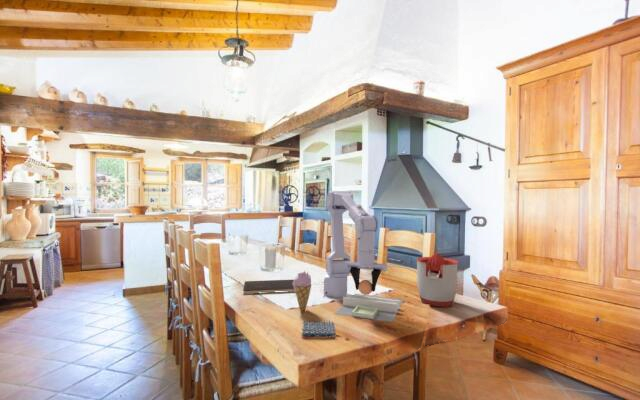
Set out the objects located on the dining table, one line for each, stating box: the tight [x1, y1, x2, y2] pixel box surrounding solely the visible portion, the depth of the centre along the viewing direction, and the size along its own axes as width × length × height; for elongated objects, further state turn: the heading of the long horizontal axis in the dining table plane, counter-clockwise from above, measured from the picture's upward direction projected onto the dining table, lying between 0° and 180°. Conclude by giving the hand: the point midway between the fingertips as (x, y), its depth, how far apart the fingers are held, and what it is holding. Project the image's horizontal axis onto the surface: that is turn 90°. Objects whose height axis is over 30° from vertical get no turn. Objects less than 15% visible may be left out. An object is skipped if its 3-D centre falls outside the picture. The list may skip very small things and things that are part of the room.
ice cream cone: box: [292, 270, 312, 314], centre depth 116 cm, size 7×6×15 cm
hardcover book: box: [242, 279, 295, 295], centre depth 147 cm, size 16×23×2 cm
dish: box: [351, 305, 378, 320], centre depth 112 cm, size 7×7×1 cm
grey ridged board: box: [334, 293, 405, 323], centre depth 120 cm, size 20×26×4 cm
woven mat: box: [300, 320, 337, 339], centre depth 99 cm, size 10×11×2 cm
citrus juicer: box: [416, 252, 459, 308], centre depth 128 cm, size 16×17×20 cm
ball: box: [358, 279, 373, 295], centre depth 112 cm, size 5×5×5 cm
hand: (365, 289), depth 112 cm, fingers closed on ball, 5 cm apart
